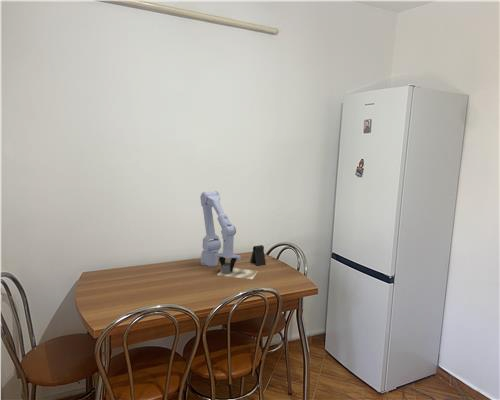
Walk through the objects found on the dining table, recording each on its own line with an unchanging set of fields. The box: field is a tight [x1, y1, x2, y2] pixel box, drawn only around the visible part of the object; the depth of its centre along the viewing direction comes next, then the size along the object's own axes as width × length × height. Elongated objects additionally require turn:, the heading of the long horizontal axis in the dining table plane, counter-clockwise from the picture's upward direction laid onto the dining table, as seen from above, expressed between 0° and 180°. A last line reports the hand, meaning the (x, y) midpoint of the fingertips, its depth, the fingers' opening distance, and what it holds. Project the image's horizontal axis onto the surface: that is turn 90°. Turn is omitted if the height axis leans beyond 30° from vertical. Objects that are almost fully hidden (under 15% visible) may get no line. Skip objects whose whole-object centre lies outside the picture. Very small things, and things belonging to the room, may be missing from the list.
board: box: [216, 267, 259, 280], centre depth 202 cm, size 20×14×1 cm
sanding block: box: [221, 261, 231, 274], centre depth 203 cm, size 4×8×4 cm, turn 166°
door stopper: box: [249, 244, 267, 267], centre depth 219 cm, size 9×6×12 cm, turn 33°
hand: (227, 270), depth 203 cm, fingers open, 4 cm apart
